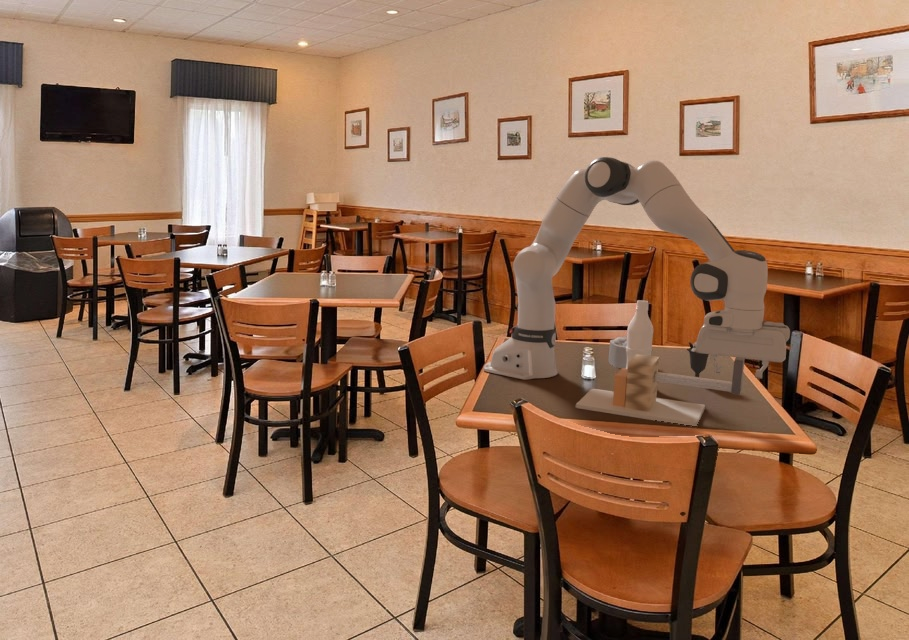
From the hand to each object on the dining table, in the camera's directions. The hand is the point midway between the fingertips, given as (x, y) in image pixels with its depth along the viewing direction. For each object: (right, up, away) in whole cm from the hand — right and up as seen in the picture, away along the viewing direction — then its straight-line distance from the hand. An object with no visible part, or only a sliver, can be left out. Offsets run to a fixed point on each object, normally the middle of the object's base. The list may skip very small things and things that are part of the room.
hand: (737, 375), depth 172 cm
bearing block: (-20, -9, +12) cm, 25 cm away
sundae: (+2, -6, +35) cm, 36 cm away
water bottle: (-17, -6, +31) cm, 36 cm away
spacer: (-25, -8, +14) cm, 29 cm away
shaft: (-10, -3, +5) cm, 12 cm away
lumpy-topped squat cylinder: (-13, -1, +54) cm, 56 cm away
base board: (-20, -10, +12) cm, 26 cm away
